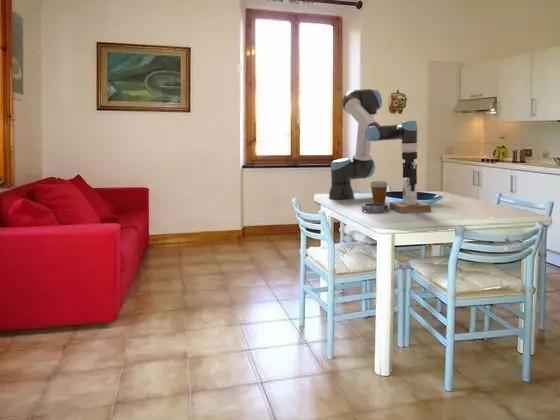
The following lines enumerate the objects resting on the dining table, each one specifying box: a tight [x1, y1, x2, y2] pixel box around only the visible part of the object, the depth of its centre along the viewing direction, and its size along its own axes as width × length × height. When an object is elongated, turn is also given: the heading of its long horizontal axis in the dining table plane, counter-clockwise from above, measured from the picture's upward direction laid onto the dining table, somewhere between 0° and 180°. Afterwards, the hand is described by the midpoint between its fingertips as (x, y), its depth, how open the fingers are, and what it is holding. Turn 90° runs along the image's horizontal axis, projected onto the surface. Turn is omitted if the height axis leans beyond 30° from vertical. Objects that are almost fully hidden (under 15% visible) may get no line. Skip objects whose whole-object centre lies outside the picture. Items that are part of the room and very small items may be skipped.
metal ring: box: [361, 202, 388, 213], centre depth 267 cm, size 13×13×3 cm
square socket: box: [389, 200, 432, 214], centre depth 265 cm, size 16×16×3 cm
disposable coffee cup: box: [370, 180, 389, 203], centre depth 285 cm, size 10×10×12 cm
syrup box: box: [402, 177, 418, 205], centre depth 264 cm, size 6×6×14 cm
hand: (409, 196), depth 264 cm, fingers closed on syrup box, 6 cm apart
